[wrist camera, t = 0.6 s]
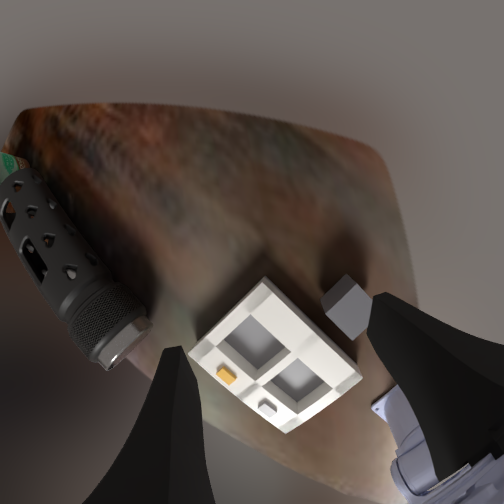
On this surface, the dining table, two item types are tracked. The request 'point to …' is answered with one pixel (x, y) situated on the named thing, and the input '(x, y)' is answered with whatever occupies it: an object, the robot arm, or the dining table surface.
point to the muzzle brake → (71, 272)
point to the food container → (11, 166)
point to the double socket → (275, 358)
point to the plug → (348, 306)
